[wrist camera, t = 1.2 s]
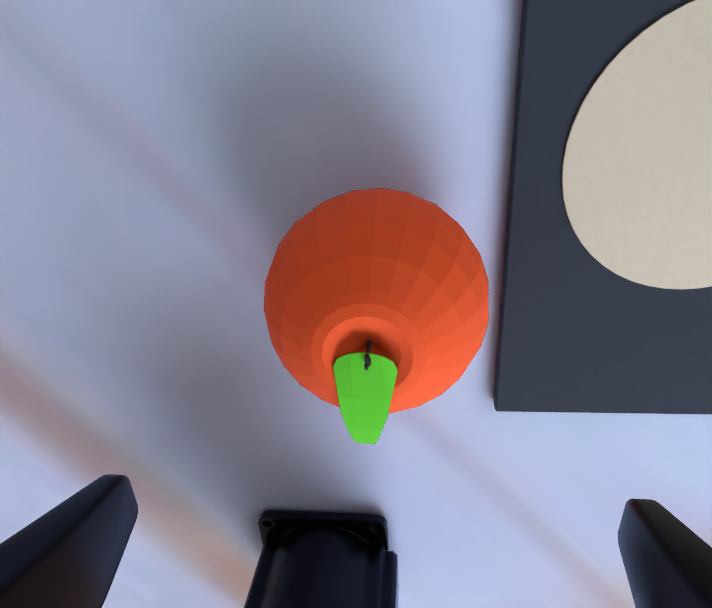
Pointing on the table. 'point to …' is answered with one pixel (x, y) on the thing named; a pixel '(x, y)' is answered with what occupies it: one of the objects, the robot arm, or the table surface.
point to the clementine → (376, 304)
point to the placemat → (610, 211)
